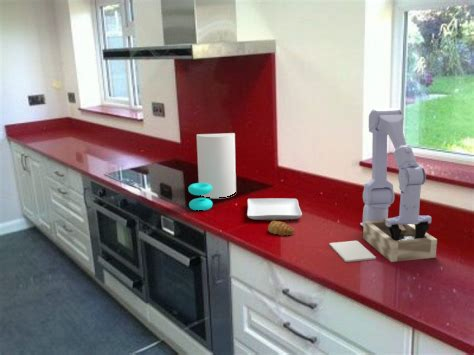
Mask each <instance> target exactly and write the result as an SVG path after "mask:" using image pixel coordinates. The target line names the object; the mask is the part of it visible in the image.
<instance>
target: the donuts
mask: <svg viewBox="0 0 474 355" xmlns="http://www.w3.org/2000/svg"><path fill="white" fill-rule="evenodd" d="M187 188H188V192H189V193H190V194H191V195H194V196H200V195H205V194H208V193H210V192H211V190H212V186H211V185H210V184H207V183H199V182H196V183H192V184H190V185H189V186H188V187H187ZM213 204H214V203H213V201H212V200H211V199H210V198H206V197H198V198H197V197H196V198H194V199H192V200H190V201H189V203H188V206H189V208H190V209H191V210H193V211H196V210H198V211H197V212H200V211H199V210H203V211H208V210H210V209H211V208H212V207H213Z"/></svg>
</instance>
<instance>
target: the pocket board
mask: <svg viewBox="0 0 474 355" xmlns="http://www.w3.org/2000/svg"><path fill="white" fill-rule="evenodd" d="M383 221H384V220H378V221H367V222H364V227H363V226H362V227H363V233H362V239H364V240H365V241H366V242H367V243H368V244H369V245H370V246H372V247H373V248H374V249H375V250H376V251H377V252H378V253H380V254H381V255H382V256H383V257H384V258H386V260H388V261H390V262H391V263H395V262H405V261H413V260H423V259H431V258H432V259H433V258H437V257H436V256H437V247H438V246H437V245H438V239H437V238H435V237H434V236H432V235H431V234H430V233H428V232H426V234H425V236H424V238H419V239H409V240H398V241H395V240H393V239H392V237H391V234H390V232H389V231H388V230H387V228H386V227H385V225H384V224H383ZM403 226H404V228H405V229H406V233H405V235H403V236H415V224H414V225H413V224H406V225H403Z"/></svg>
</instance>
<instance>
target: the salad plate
mask: <svg viewBox="0 0 474 355" xmlns="http://www.w3.org/2000/svg"><path fill="white" fill-rule="evenodd" d="M246 202H247V211H246V212H247V213H246V216H247V217H248V218H249V219H251V220H257V221H280V220H281V221H282V220H285V221H286V220H287V221H288V220H289V219H290V220H297V219H299V218H301V217H302V215H303V213H302V209H301V208H300V206H299V200H298V199H297V198H273V197H272V198H271V197H270V198H269V197H268V198H248V199H247V201H246Z"/></svg>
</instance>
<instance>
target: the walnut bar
mask: <svg viewBox="0 0 474 355" xmlns="http://www.w3.org/2000/svg"><path fill="white" fill-rule="evenodd" d="M390 218H391V217H388V218H384V221H383V224H384V225H385V224H386V219H390ZM398 226H399V228H400V229H401V230H402V231H401V233H400V234H403V235H405V233H406V229H405V228H404V226H403V225H398ZM385 227H386V228H387V230H388V231H389V229H388V227H387V226H386V225H385ZM389 232H390V231H389Z"/></svg>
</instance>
